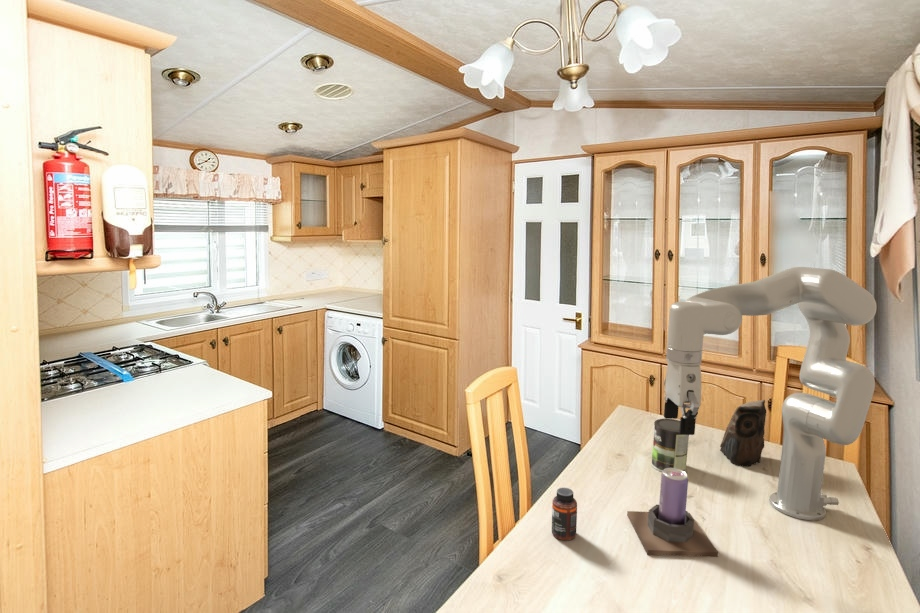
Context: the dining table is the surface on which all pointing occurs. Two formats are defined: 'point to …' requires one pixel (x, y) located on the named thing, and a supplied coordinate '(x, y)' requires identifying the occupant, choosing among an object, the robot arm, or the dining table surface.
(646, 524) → the can holder
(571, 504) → the supplement bottle
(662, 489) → the beverage can
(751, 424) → the owl
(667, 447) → the coffee can
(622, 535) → the dining table surface
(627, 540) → the dining table surface
